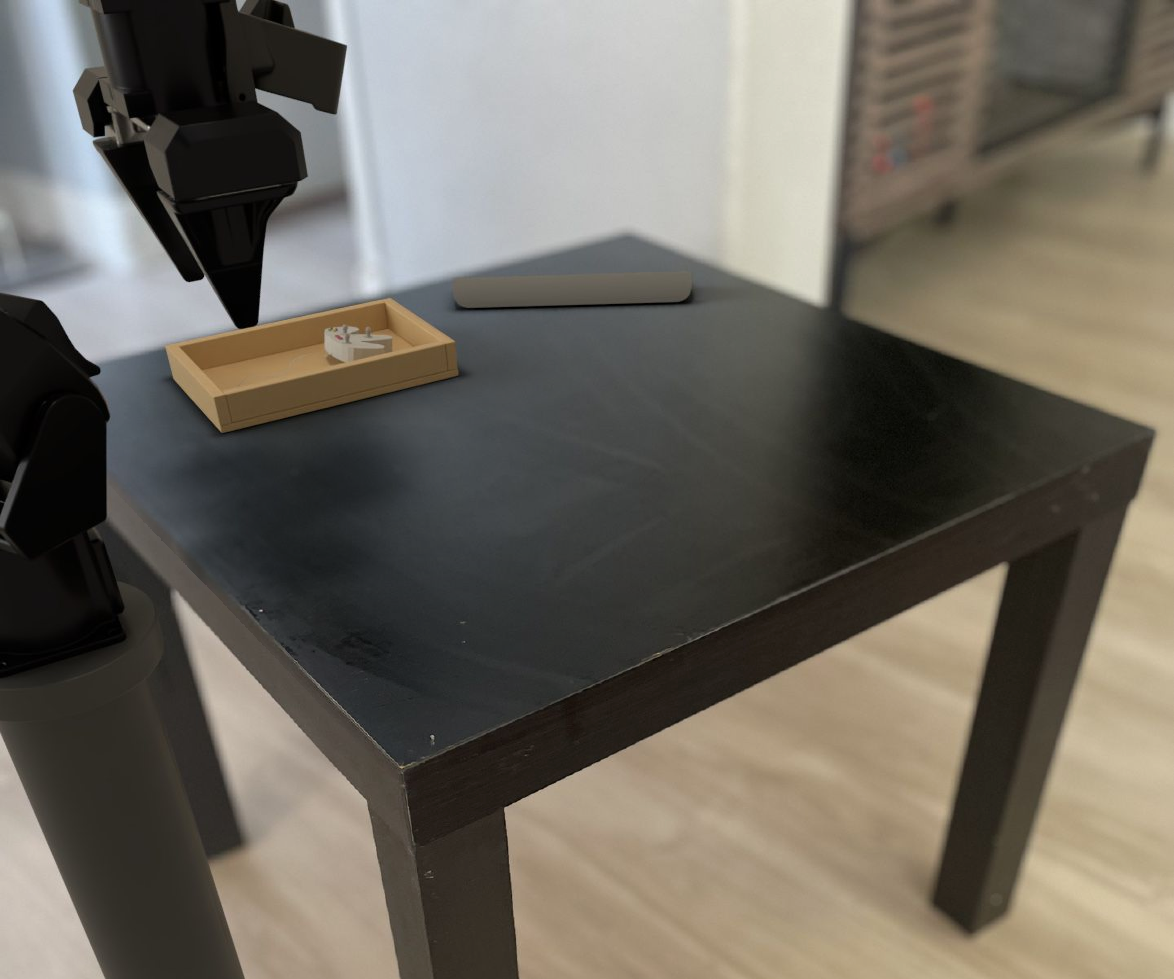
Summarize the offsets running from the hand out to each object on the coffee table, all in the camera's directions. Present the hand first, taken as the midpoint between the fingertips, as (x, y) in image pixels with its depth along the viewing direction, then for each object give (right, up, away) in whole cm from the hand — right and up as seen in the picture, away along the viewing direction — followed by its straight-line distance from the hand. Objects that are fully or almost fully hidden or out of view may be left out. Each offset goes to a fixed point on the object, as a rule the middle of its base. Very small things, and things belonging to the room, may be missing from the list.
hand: (219, 302), depth 65 cm
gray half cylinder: (+18, +14, +35) cm, 42 cm away
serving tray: (0, +4, +24) cm, 24 cm away
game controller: (0, +4, +23) cm, 24 cm away
